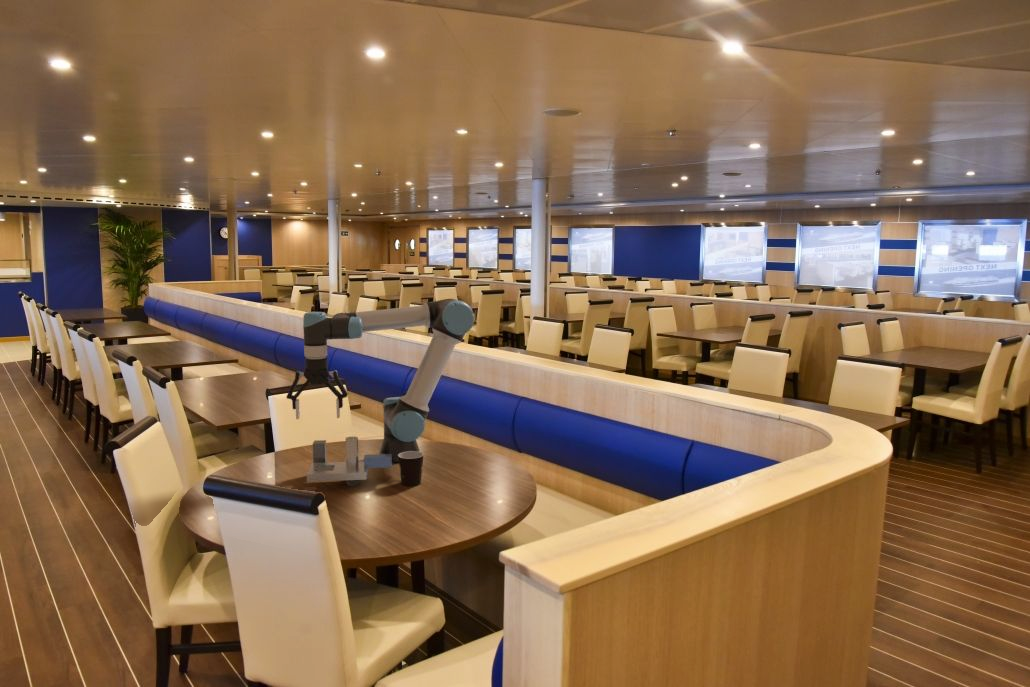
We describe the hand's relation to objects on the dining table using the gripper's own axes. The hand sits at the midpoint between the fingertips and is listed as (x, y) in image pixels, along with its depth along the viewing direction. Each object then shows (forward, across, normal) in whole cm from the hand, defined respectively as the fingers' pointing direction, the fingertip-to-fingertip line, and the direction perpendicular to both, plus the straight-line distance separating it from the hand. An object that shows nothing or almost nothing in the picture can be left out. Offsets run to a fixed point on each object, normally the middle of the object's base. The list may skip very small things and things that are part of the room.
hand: (318, 417), depth 242 cm
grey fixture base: (+21, -12, +11) cm, 26 cm away
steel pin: (+20, 0, 0) cm, 21 cm away
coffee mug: (+21, -32, +11) cm, 40 cm away
